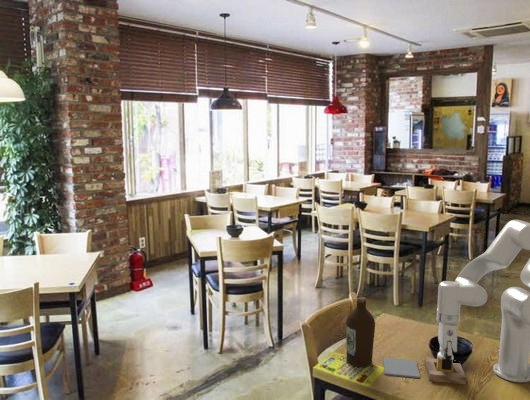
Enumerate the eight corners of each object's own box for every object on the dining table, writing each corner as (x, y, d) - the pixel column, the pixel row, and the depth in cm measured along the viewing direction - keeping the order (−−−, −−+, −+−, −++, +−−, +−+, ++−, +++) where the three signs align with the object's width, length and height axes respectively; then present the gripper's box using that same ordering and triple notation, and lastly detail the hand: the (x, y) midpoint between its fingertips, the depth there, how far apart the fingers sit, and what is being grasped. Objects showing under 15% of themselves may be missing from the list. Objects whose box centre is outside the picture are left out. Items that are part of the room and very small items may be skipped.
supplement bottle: (453, 378, 165) (455, 352, 163) (437, 376, 166) (439, 350, 164) (450, 371, 170) (452, 345, 169) (435, 369, 171) (436, 344, 170)
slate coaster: (415, 362, 176) (415, 360, 176) (419, 378, 165) (419, 376, 165) (383, 358, 179) (383, 357, 179) (384, 374, 167) (384, 373, 167)
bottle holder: (458, 367, 173) (459, 360, 172) (465, 384, 161) (466, 377, 161) (424, 364, 175) (424, 357, 174) (429, 380, 163) (429, 374, 163)
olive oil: (364, 353, 183) (367, 291, 179) (379, 366, 173) (381, 301, 169) (340, 357, 180) (341, 294, 176) (353, 370, 170) (355, 304, 166)
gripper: (464, 327, 156) (461, 378, 158) (454, 308, 172) (451, 355, 175) (440, 325, 157) (437, 376, 160) (433, 307, 174) (430, 353, 176)
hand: (444, 364), depth 167 cm, fingers closed on supplement bottle, 5 cm apart
